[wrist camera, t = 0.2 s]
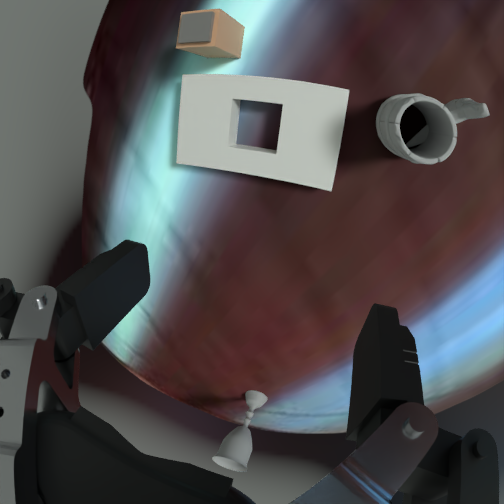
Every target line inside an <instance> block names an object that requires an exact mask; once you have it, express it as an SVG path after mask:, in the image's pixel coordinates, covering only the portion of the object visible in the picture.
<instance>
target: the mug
mask: <svg viewBox="0 0 504 504" xmlns="http://www.w3.org/2000/svg"><path fill="white" fill-rule="evenodd" d="M411 104H412V105H414V106H415V107H417V108H418V109H419V110H420V111H421V112H422V114H423V115H424V117H425V120H426V123H427V125H426V126H425V127H424V128H423V129H422V130H421V131H420V132H419V133H417V134H416V135H415V136H414V137H413V138H412V139H411V140H410V141H409V142H408V143H407V144H406V145H405V143H404V141H403V139H402V136H401V132H400V121H401V117H402V115H403V113H404V111H405V110H406V109H407V107H409V106H410V105H411ZM486 116H489V111H488V109H487V106H486V104H484V103H478V102H475V101H473V100H471V99H470V98H462V99H456V100H452V101H450V102H449V103H447V104H445V105H444V104H442V103H440V102H439V101H438V100H436V99H434V98H432V97H428V96H425V95H423V94H419V93H417V94H400V95H395V96H392V97H390V98H389V99H387V100H386V101H385V102H384V103H382V104H381V107H380V108H379V110H378V113H377V117H376V129H377V133H378V136H379V138H380V140H381V141H382V143H383V144H384V146H385V147H386V148H387V149H388V150H389V151H391V152H392V153H393V154H395V155H397V156H400V157H402V158H405V159H407V160H409V161H411V162H412V163H423V164H435V163H437V162H442V161H443V160H445V159H446V158H447V157H448V156H449V155H450V154H451V153H452V151H453V149H454V147H455V145H456V140H457V139H456V138H455V137H457V128H456V124H457V123H459V122H462V121H464V120H466V119H473V118H483V117H486ZM418 144H420V145H419V146H418V147H415V148H414V149H408V148H409V147H412V146H415V145H418Z"/></svg>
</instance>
